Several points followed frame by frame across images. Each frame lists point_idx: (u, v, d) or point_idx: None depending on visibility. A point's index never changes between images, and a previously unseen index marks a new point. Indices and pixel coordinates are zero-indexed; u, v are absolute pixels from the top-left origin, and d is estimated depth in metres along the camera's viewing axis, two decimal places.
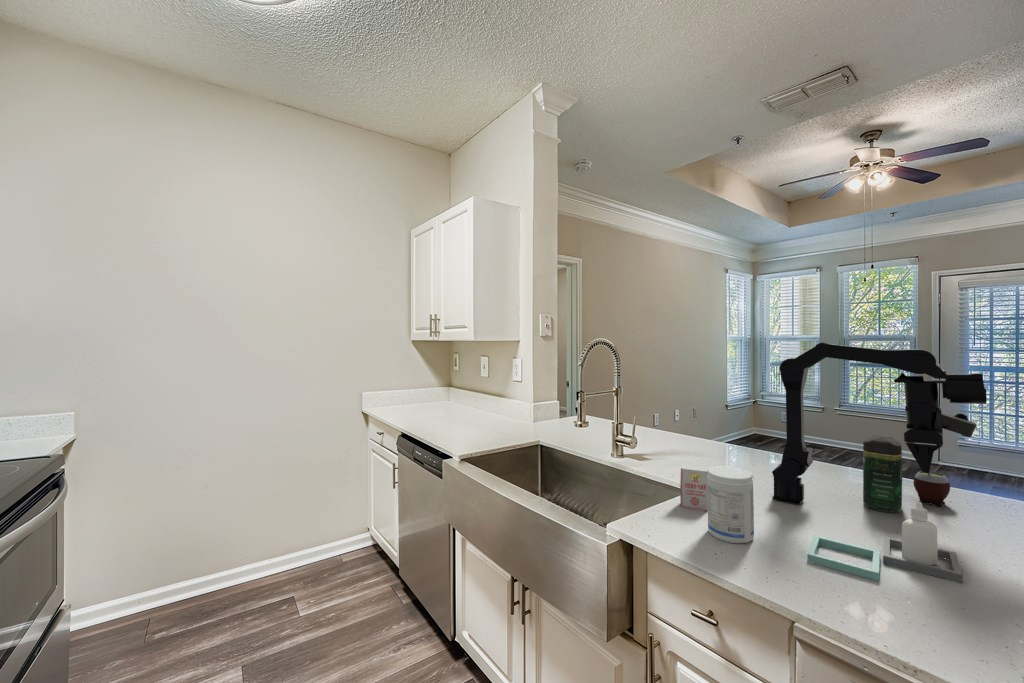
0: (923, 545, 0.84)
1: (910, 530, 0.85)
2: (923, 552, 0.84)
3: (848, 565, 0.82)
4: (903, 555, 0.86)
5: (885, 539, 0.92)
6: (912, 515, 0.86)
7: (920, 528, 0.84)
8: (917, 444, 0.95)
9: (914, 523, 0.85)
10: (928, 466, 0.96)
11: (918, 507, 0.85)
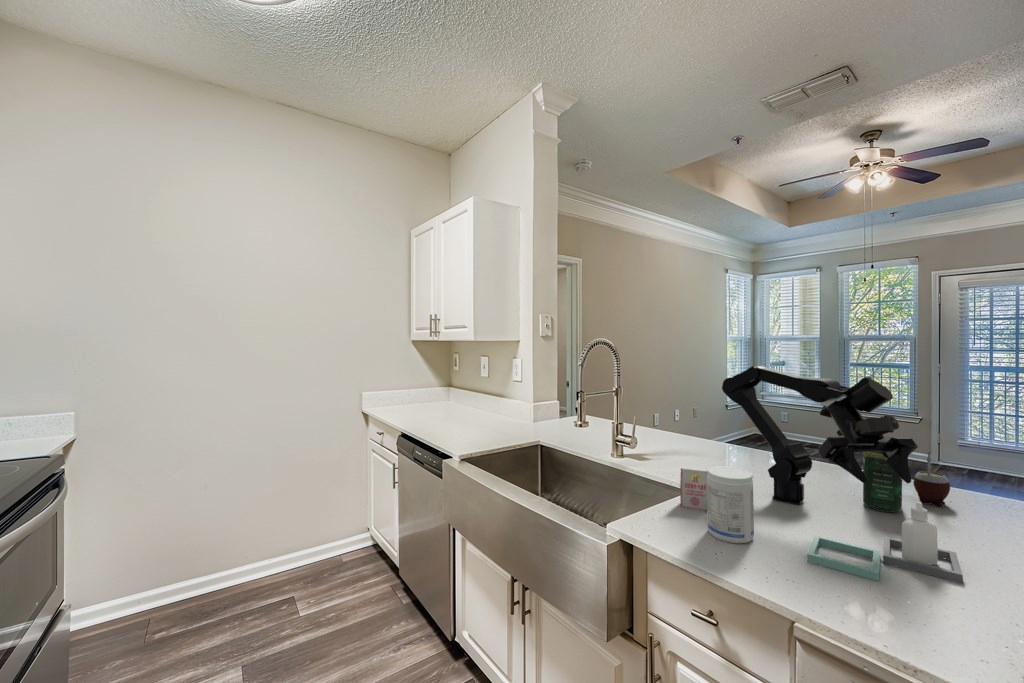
0: (923, 545, 0.84)
1: (910, 530, 0.85)
2: (923, 552, 0.84)
3: (848, 565, 0.82)
4: (903, 555, 0.86)
5: (885, 539, 0.92)
6: (912, 515, 0.86)
7: (920, 528, 0.84)
8: (831, 456, 1.00)
9: (914, 523, 0.85)
10: (859, 474, 0.95)
11: (918, 507, 0.85)
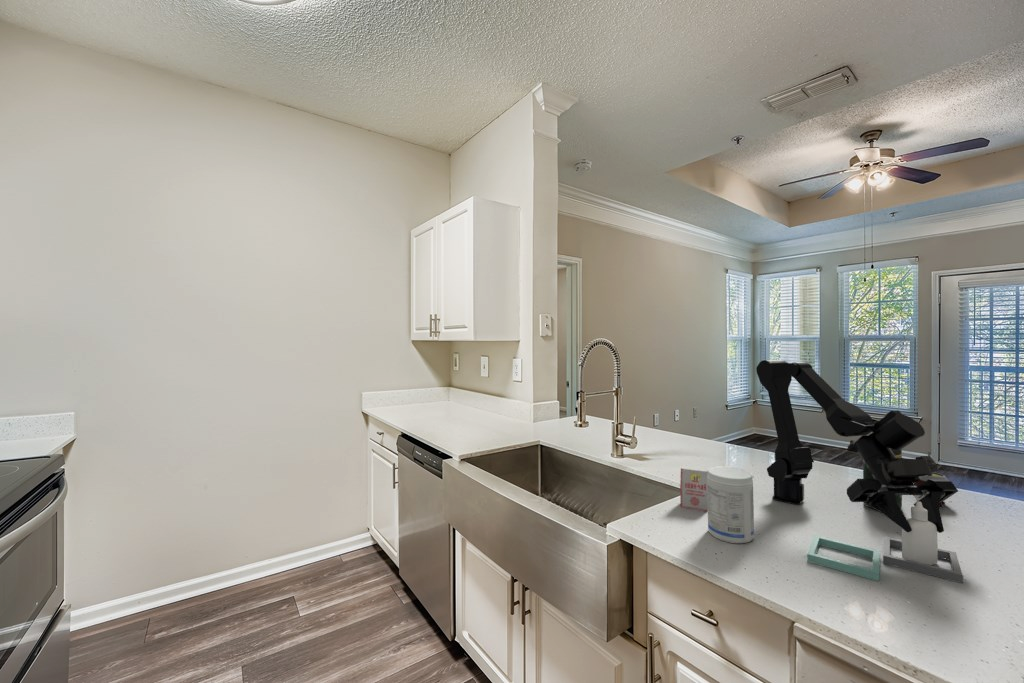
0: (923, 545, 0.84)
1: None
2: (923, 552, 0.84)
3: (848, 565, 0.82)
4: (903, 555, 0.86)
5: (885, 539, 0.92)
6: (912, 515, 0.86)
7: (920, 528, 0.84)
8: (870, 500, 0.90)
9: (914, 523, 0.85)
10: (902, 522, 0.85)
11: (918, 507, 0.85)
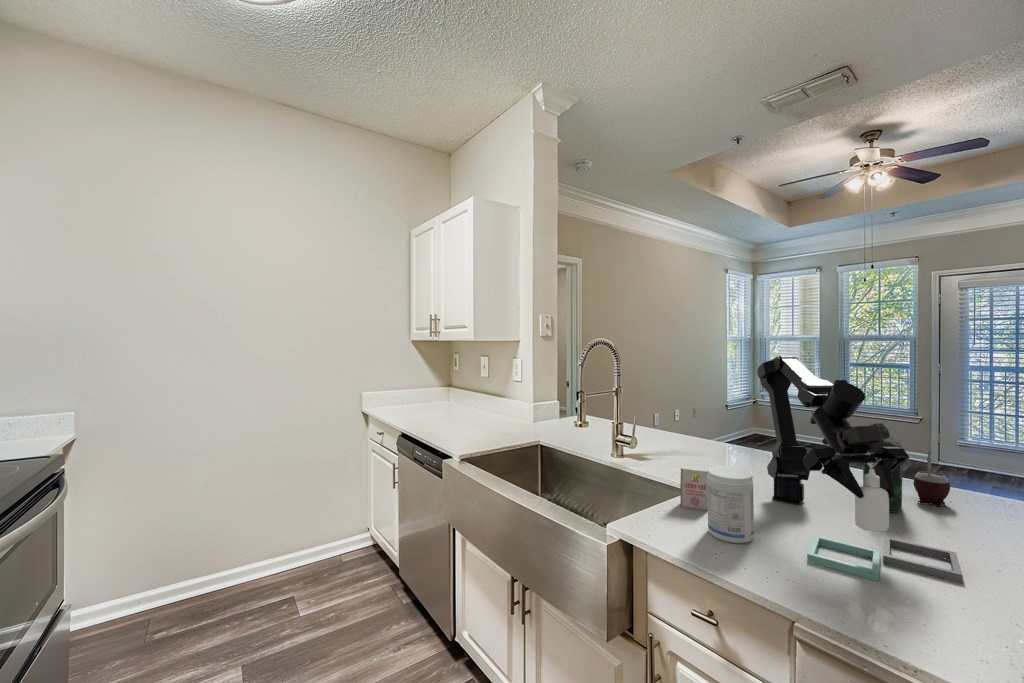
0: (875, 511, 0.85)
1: None
2: (875, 518, 0.85)
3: (848, 565, 0.82)
4: (856, 522, 0.87)
5: (885, 539, 0.92)
6: (865, 482, 0.86)
7: (872, 494, 0.85)
8: (825, 468, 0.91)
9: (866, 490, 0.85)
10: (855, 488, 0.86)
11: (871, 474, 0.86)
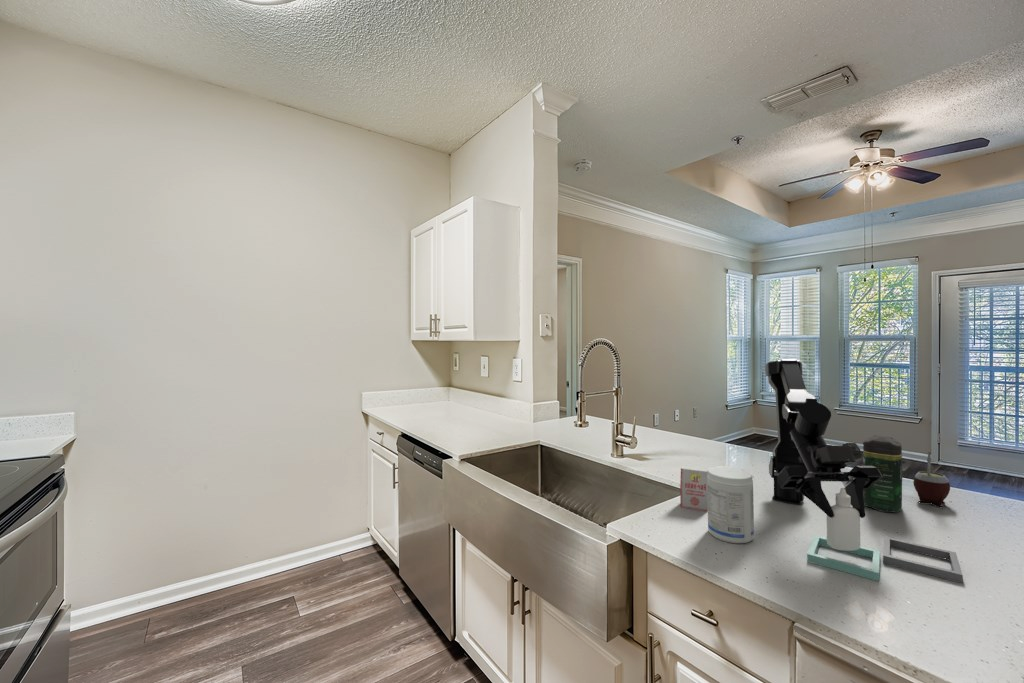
0: (845, 530, 0.85)
1: None
2: (845, 537, 0.85)
3: (848, 565, 0.82)
4: (827, 541, 0.87)
5: (885, 539, 0.92)
6: (836, 501, 0.87)
7: (843, 514, 0.85)
8: (798, 486, 0.91)
9: (837, 509, 0.86)
10: (826, 507, 0.87)
11: (842, 493, 0.86)
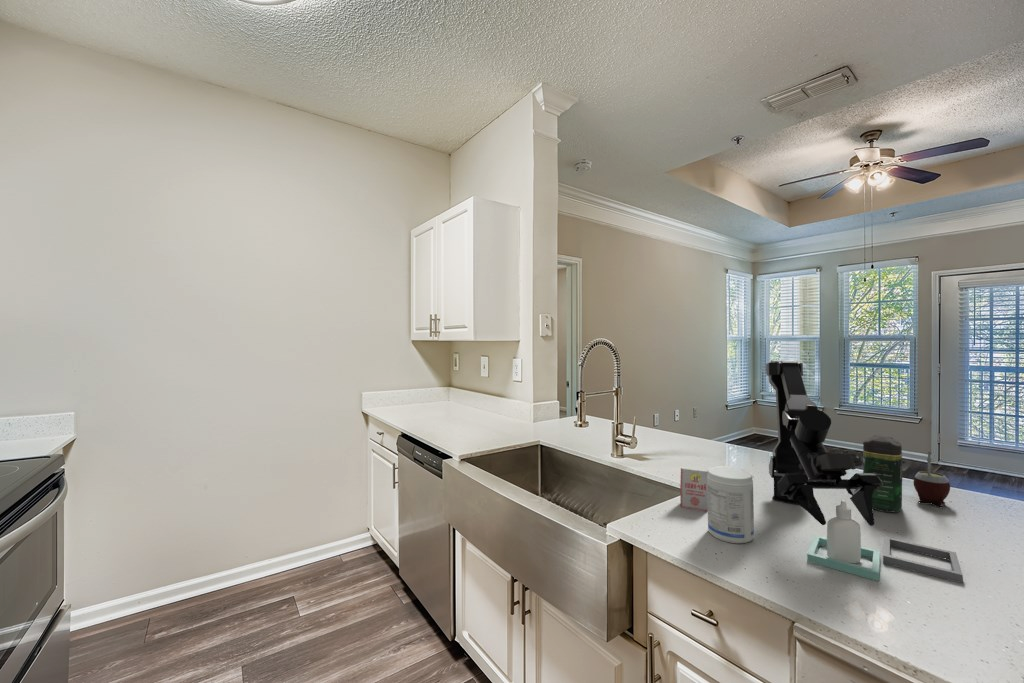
0: (846, 543, 0.85)
1: (833, 529, 0.86)
2: (846, 550, 0.85)
3: (848, 565, 0.82)
4: (828, 553, 0.87)
5: (885, 539, 0.92)
6: (836, 514, 0.87)
7: (843, 526, 0.85)
8: (790, 493, 0.91)
9: (837, 522, 0.86)
10: (818, 515, 0.86)
11: (842, 506, 0.86)
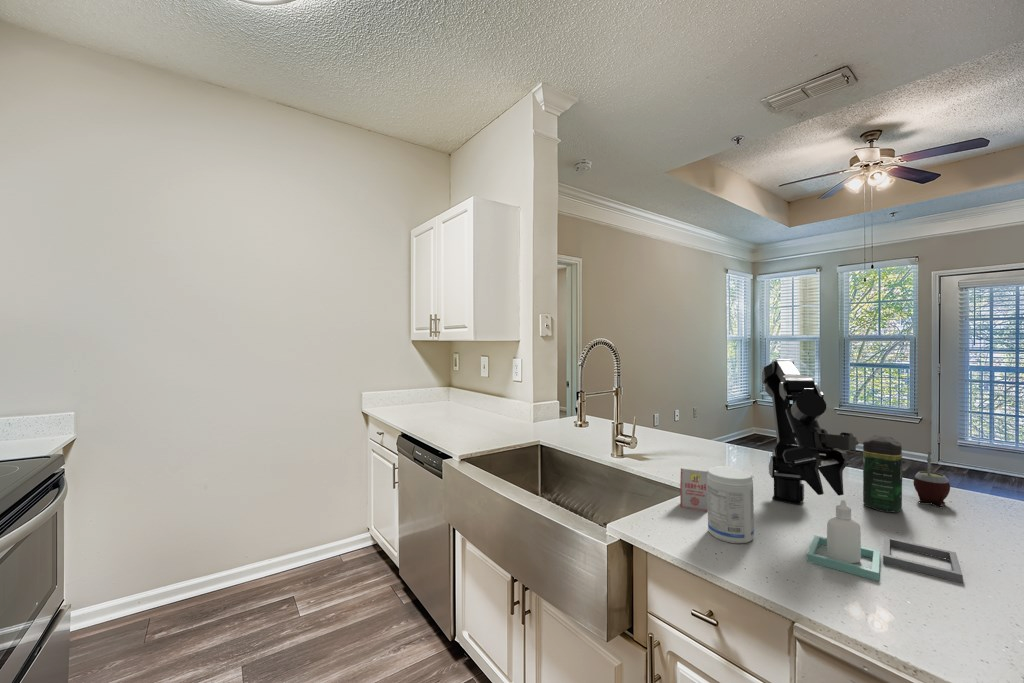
0: (846, 543, 0.85)
1: (833, 529, 0.86)
2: (846, 550, 0.85)
3: (848, 565, 0.82)
4: (828, 553, 0.87)
5: (885, 539, 0.92)
6: (836, 514, 0.87)
7: (843, 527, 0.85)
8: (797, 463, 0.96)
9: (837, 522, 0.86)
10: (818, 486, 0.94)
11: (842, 506, 0.86)
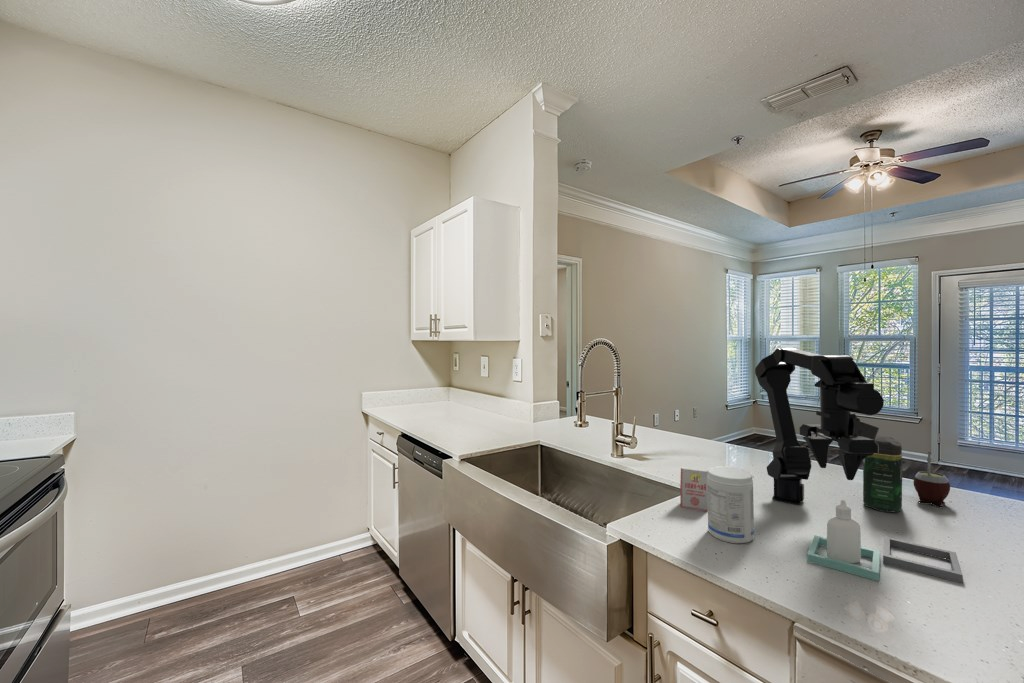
0: (846, 543, 0.85)
1: (833, 529, 0.86)
2: (846, 550, 0.85)
3: (848, 565, 0.82)
4: (828, 553, 0.87)
5: (885, 539, 0.92)
6: (836, 514, 0.87)
7: (843, 527, 0.85)
8: (856, 454, 0.93)
9: (837, 522, 0.86)
10: (854, 473, 0.96)
11: (842, 506, 0.86)
